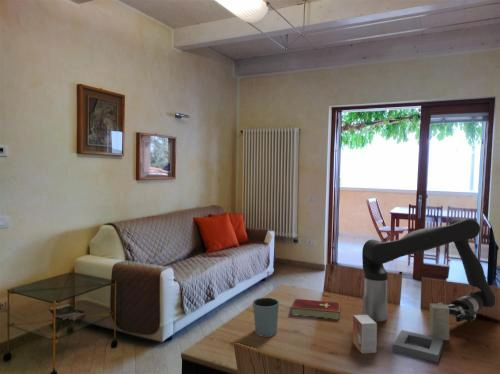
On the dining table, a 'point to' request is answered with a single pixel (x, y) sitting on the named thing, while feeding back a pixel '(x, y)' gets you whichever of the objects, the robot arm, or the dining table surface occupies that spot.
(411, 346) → the pocket stand
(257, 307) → the grey ceramic cup
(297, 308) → the hardcover book
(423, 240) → the robot arm
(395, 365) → the dining table surface
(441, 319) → the skincare box
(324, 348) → the dining table surface
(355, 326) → the small box
